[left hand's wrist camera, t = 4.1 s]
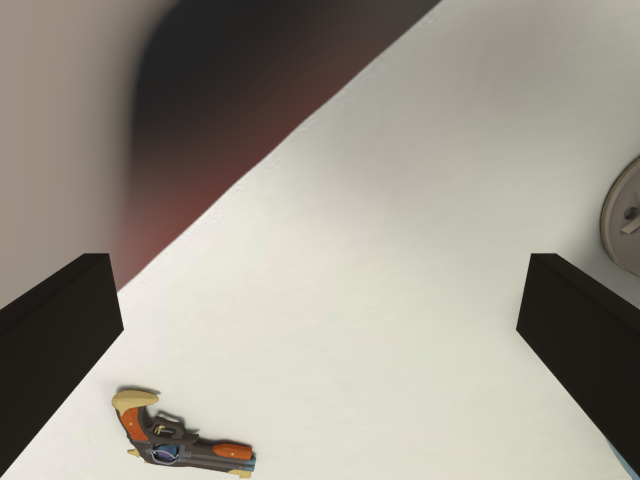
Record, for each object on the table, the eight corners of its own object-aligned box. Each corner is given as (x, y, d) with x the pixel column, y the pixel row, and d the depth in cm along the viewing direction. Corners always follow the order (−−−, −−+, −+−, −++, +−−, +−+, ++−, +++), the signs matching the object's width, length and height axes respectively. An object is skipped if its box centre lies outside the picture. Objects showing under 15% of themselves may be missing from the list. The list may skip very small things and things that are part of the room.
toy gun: (109, 397, 47) (98, 466, 49) (267, 421, 50) (250, 486, 52) (118, 383, 49) (107, 449, 51) (268, 407, 52) (251, 469, 54)
